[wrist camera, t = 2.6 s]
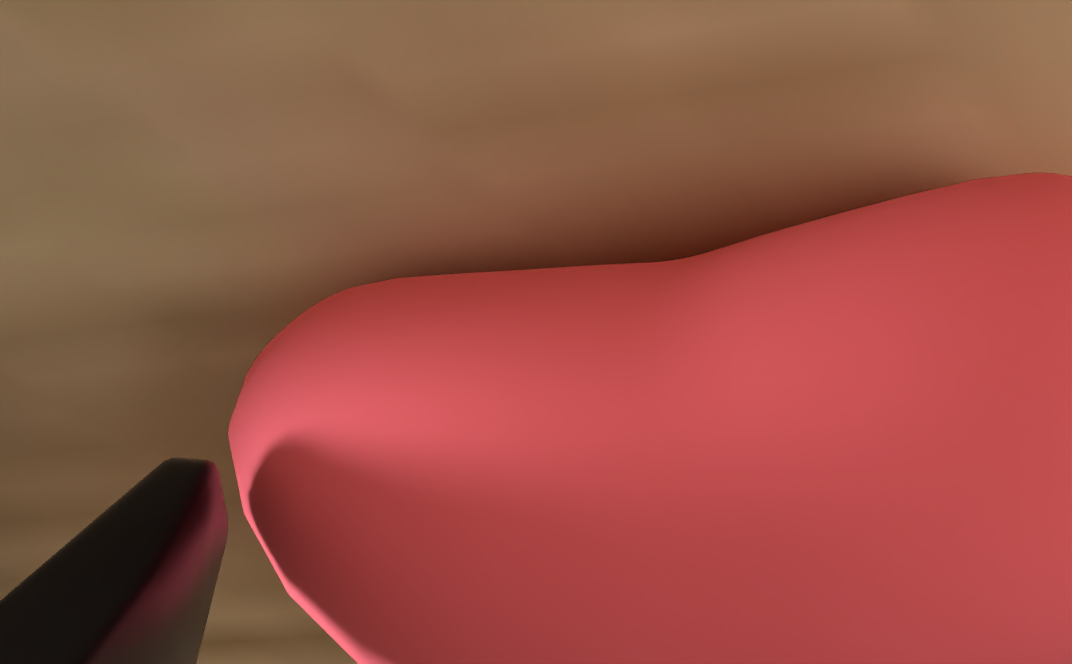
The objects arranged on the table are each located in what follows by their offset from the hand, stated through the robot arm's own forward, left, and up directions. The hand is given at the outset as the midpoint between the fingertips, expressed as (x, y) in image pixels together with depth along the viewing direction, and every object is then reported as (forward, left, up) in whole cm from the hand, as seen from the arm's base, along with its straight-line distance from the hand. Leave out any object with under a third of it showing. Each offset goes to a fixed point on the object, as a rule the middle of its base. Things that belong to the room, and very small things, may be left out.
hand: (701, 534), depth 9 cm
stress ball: (0, 0, -3) cm, 3 cm away
